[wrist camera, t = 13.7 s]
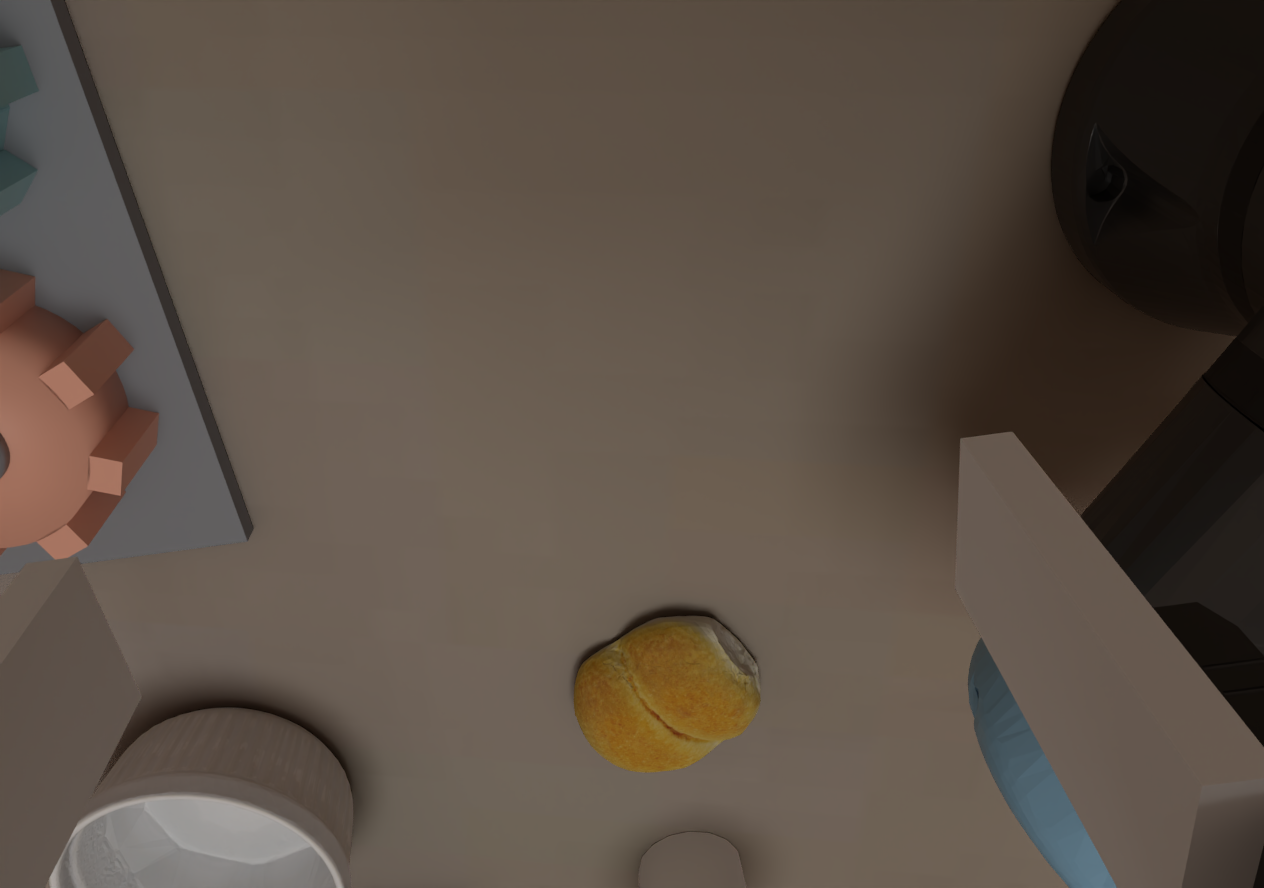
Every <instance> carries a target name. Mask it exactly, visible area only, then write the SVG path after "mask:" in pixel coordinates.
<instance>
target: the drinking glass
mask: <svg viewBox="0 0 1264 888" xmlns="http://www.w3.org/2000/svg"><path fill="white" fill-rule="evenodd" d="M639 888H747V887H746V883H745V879H744V874H743V870H742V866H741V861H740V858H739V854H738V850H737V849H736V848H735V847H734V846H733V845H732V844H731V843H730V842H729V841H727V840H726V839H724V838H721V837H719V836H716V835H714V834H711V833H704V832H690V831H689V832H685V833H680V834H675V835H670V836H668V837H666V838H664V839H662V840H661V841H659V842H657V843H655V844H653V845H652V846H651V847H650V848H649V850H648V851H647V852H646V853H645V854H644V855H643V856H642V859H641V863H640V867H639Z"/></svg>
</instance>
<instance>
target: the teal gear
mask: <svg viewBox="0 0 1264 888" xmlns="http://www.w3.org/2000/svg"><path fill="white" fill-rule="evenodd" d="M38 91H39V89H38V87H37V84H36V82H35V79H34V76H33V74H32V71H31V69H30V66H29V63H28V61H27V58H26V56H25V53H24V50H23V48H22V45H20V46H13V47H6V48H0V216H1V215H2V214H4V213H6V212H7V211H9V210H10V209H12V208H14V207H15V206H17V205H19V204H20V203H21V202H22V200H23V198H24V196H25V194H26V192H27V190H28V188H29V187H30V185H31V183H32V181H33V179H34V177H35V175H36V173H37V171H38V170H37V169H36V168H34V167H32V166H31V165H29V164H28V163H26V162H24V161H23V160H21V159H20V158H18V157H16V156H15V155H13V154H11V153H10V152H8V151H7V150H3V149H4V143H5V136H6V129H7V122H8V115H9V109H10V106H9V105H8V104H9V103H12V102H14V101H16V100H19V99H21V98H23V97H26V96H28V95H31V94H33V93H35V92H38Z"/></svg>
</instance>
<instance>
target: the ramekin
mask: <svg viewBox="0 0 1264 888" xmlns="http://www.w3.org/2000/svg"><path fill="white" fill-rule="evenodd" d="M352 834H353V797H352V793H351V788H350V784H349V782H348V779H347V777H346V773H345V771H344V770H343V768H342V767H341V765H340V763H339V761H338V760H337V759H336V758H335V756H334V755H333V754H332V752H331V751H330V750H329V749H328V748H327V747H326V746H325V745H324V744H323V743H322V742H321V741H320V740H319V739H318V738H317V737H315V736H314V735H313V734H311V733H310V732H309V731H307V730H306V729H304V728H302V727H301V726H299V725H297V724H295V723H293V722H291V721H289V720H287V719H284V718H282V717H279V716H276V715H273V714H270V713H266V712H262V711H258V710H253V709H246V708H234V707H223V708H210V709H203V710H198V711H193V712H190V713H186V714H181V715H178V716H177V717H174V718H170V719H167V720H165V721H163V722H162V723H160V724H157V725H155V726H153V727H152V728H150V729H149V730H148V731H147V732H145V733H143V734H142V735H141V736H139V737H138V738H137V739H136V740H135V742H134V743H133V744H131V745H130V746H129V747H128V748H127V749H126V751H125V752H124V753H123V754H122V755H121V757H120V758H119V760H118V761H117V762H116V764H115V765H114V766H113V768H112V769H111V770H110V772H109V773H108V774H107V776H106V777H105V779H104V780H103V781H102V783H101V784H100V786H99V787H98V788H97V790H96V791H95V793H94V794H93V796H92V797H91V798H90V800H89V802H88V804H87V806H86V808H85V809H84V811H83V813H82V815H81V817H80V819H79V821H78V823H77V825H76V827H75V829H74V831H73V833H72V835H71V837H70V839H69V841H68V843H67V845H66V847H65V849H64V851H63V853H62V855H61V857H60V858H59V860H58V862H57V864H56V866H55V868H54V870H53V872H52V874H51V876H50V878H49V884H50V888H351V871H350V866H349V863H350V854H351V845H352Z"/></svg>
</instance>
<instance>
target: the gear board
mask: <svg viewBox="0 0 1264 888" xmlns="http://www.w3.org/2000/svg"><path fill="white" fill-rule="evenodd" d="M20 45H22V48H23V50H24V53H25V56H26V58H27V61H28V63H29V66H30V69H31V71H32V74H33V76H34V79H35V82H36V84H37V87H38V89H39V91H38V92H35V93H33V94H31V95H28V96H26V97H23V98H21V99H19V100H16V101H14V102H12V103H9V104H8V105H9V106H10V109H9V115H8V122H7V129H6V136H5V143H4V149H3V150H7V151H8V152H10V153H11V154H13V155H15V156H16V157H18V158H20V159H21V160H23V161H24V162H26V163H28V164H29V165H31V166H32V167H34V168H36V169H37V170H38V171H37V173H36V175H35V177H34V179H33V181H32V183H31V185H30V187H29V188H28V190H27V192H26V194H25V196H24V198H23V200H22V202H21V203H20V204H19V205H17V206H15V207H14V208H12V209H10V210H9V211H7V212H6V213H4V214H2V215H1V216H0V575H1V574H8V573H16V572H20V571H21V569H22V568H23V567H24V565H25V564H26V563H33V562H41V561H48V560H56V559H63V558H71V557H78V559H79V562H80V564H83V563H90V562H98V561H105V560H113V559H120V558H128V557H135V556H143V555H150V554H158V553H165V552H173V551H180V550H188V549H195V548H202V547H210V546H217V545H225V544H232V543H240V542H247V541H248V539H249V537H250V535H251V533H252V531H253V526H252V523H251V520H250V518H249V515H248V512H247V509H246V506H245V504H244V501H243V498H242V495H241V492H240V490H239V487H238V484H237V481H236V479H235V476H234V473H233V470H232V467H231V465H230V462H229V459H228V456H227V453H226V451H225V448H224V445H223V442H222V439H221V437H220V434H219V431H218V428H217V426H216V423H215V420H214V417H213V414H212V412H211V409H210V406H209V403H208V400H207V398H206V395H205V392H204V389H203V386H202V384H201V381H200V378H199V375H198V372H197V370H196V367H195V364H194V361H193V359H192V356H191V353H190V350H189V347H188V345H187V342H186V339H185V336H184V333H183V331H182V328H181V325H180V322H179V319H178V317H177V314H176V311H175V308H174V306H173V303H172V300H171V297H170V294H169V292H168V289H167V286H166V283H165V280H164V278H163V275H162V272H161V269H160V266H159V264H158V261H157V258H156V255H155V252H154V250H153V247H152V244H151V241H150V239H149V236H148V233H147V230H146V227H145V225H144V222H143V219H142V216H141V213H140V211H139V208H138V205H137V202H136V199H135V197H134V194H133V191H132V188H131V186H130V183H129V180H128V177H127V174H126V172H125V169H124V166H123V163H122V160H121V158H120V155H119V152H118V149H117V146H116V144H115V141H114V138H113V135H112V132H111V130H110V127H109V124H108V121H107V119H106V116H105V113H104V110H103V107H102V105H101V102H100V99H99V96H98V93H97V91H96V88H95V85H94V82H93V79H92V77H91V74H90V71H89V68H88V66H87V63H86V60H85V57H84V54H83V52H82V49H81V46H80V43H79V40H78V38H77V35H76V32H75V29H74V26H73V24H72V21H71V18H70V15H69V12H68V10H67V7H66V4H65V1H64V0H0V48H6V47H13V46H20Z"/></svg>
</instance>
